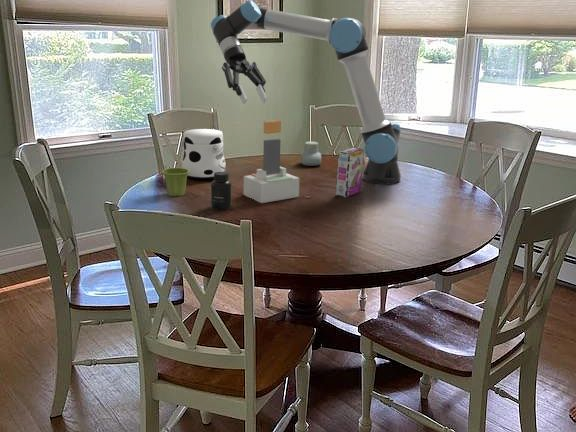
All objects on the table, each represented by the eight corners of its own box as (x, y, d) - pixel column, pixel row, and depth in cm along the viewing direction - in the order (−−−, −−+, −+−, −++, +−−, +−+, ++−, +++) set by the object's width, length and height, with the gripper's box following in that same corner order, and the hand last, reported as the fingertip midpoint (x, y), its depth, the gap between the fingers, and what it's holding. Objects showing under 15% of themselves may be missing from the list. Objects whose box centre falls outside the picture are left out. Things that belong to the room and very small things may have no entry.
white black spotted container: (233, 178, 237) (233, 133, 231) (193, 184, 228) (192, 137, 222) (213, 169, 251) (212, 127, 245) (175, 174, 241) (173, 130, 236)
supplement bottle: (215, 211, 195) (214, 176, 192) (208, 206, 201) (207, 171, 197) (234, 209, 198) (234, 174, 195) (227, 203, 204) (226, 170, 200)
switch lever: (262, 175, 211) (263, 121, 205) (277, 173, 215) (278, 120, 209) (265, 176, 210) (266, 122, 204) (280, 174, 213) (281, 121, 208)
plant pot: (194, 192, 216) (194, 169, 213) (179, 199, 208) (179, 175, 205) (173, 189, 220) (172, 166, 217) (157, 195, 212) (156, 171, 209)
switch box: (243, 194, 215) (243, 167, 212) (280, 188, 224) (280, 163, 221) (261, 203, 206) (261, 175, 203) (298, 196, 214) (299, 169, 211)
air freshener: (299, 162, 268) (300, 140, 265) (318, 162, 269) (318, 140, 266) (303, 167, 258) (303, 145, 255) (321, 167, 259) (322, 145, 256)
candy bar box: (347, 198, 214) (349, 153, 209) (335, 195, 217) (337, 151, 212) (361, 191, 223) (364, 148, 218) (350, 189, 226) (352, 147, 221)
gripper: (252, 58, 230) (274, 106, 222) (205, 59, 219) (226, 109, 211) (260, 45, 224) (283, 93, 216) (211, 45, 213) (233, 95, 205)
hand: (255, 101), depth 214 cm, fingers open, 8 cm apart
